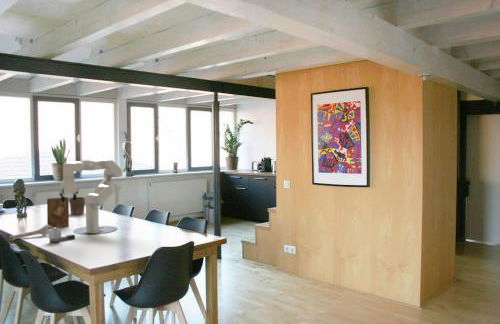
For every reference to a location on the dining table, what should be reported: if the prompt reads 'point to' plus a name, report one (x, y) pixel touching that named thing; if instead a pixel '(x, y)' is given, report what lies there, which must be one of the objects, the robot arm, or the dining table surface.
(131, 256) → the dining table surface
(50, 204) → the book
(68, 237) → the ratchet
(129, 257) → the dining table surface
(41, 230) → the wrench
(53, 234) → the cube with metal dome
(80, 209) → the plant pot
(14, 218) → the dining table surface
